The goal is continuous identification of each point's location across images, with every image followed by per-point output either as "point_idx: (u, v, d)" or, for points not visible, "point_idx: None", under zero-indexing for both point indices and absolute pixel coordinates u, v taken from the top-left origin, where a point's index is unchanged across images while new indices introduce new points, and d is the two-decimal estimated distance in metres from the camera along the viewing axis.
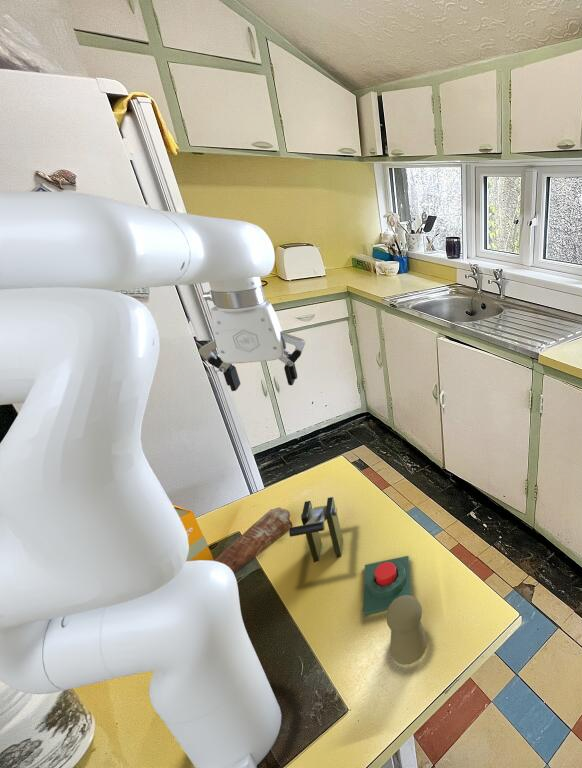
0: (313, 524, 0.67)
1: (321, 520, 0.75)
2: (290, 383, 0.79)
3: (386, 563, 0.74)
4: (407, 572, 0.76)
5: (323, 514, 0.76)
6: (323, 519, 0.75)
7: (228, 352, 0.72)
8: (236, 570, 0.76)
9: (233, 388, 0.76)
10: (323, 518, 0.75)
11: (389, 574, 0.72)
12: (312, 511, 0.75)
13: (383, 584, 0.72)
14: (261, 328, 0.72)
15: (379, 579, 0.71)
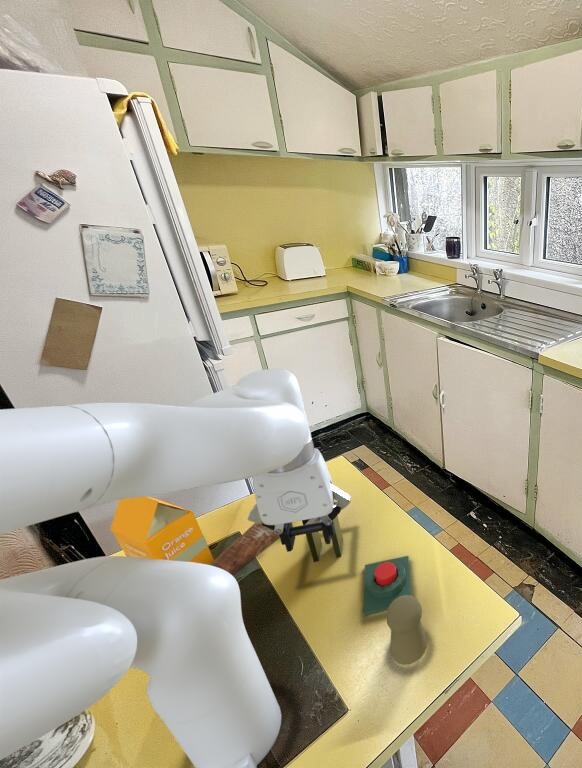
0: (313, 524, 0.67)
1: (321, 520, 0.75)
2: (328, 542, 0.67)
3: (386, 563, 0.74)
4: (407, 572, 0.76)
5: None
6: None
7: (271, 515, 0.61)
8: (236, 570, 0.76)
9: (289, 548, 0.66)
10: None
11: (389, 574, 0.72)
12: None
13: (383, 584, 0.72)
14: (310, 486, 0.61)
15: (379, 579, 0.71)
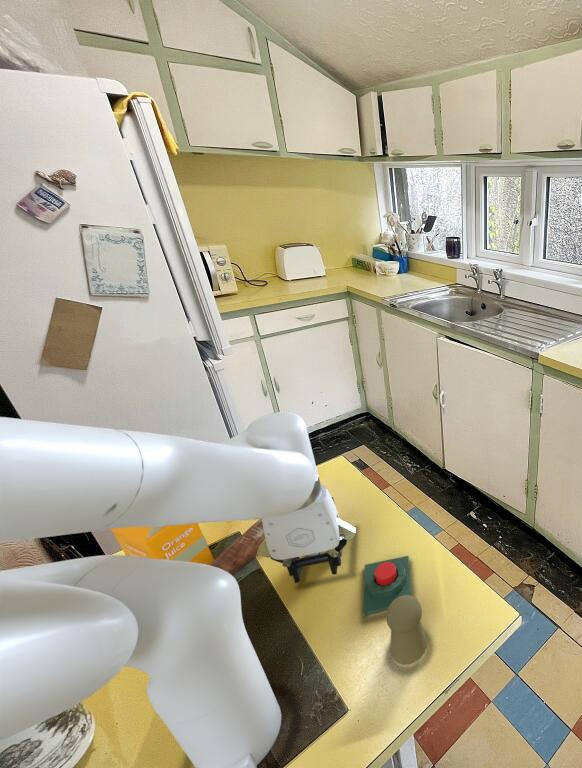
0: (319, 557, 0.68)
1: None
2: (334, 573, 0.69)
3: (386, 563, 0.74)
4: (407, 572, 0.76)
5: None
6: None
7: (279, 550, 0.63)
8: (236, 570, 0.76)
9: (297, 579, 0.68)
10: None
11: (389, 574, 0.72)
12: None
13: (383, 584, 0.72)
14: (317, 523, 0.63)
15: (379, 579, 0.71)
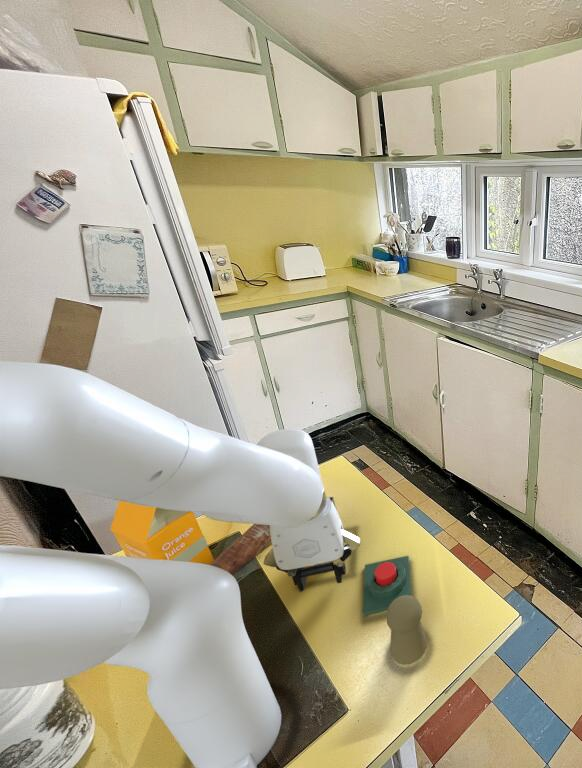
0: (323, 569, 0.70)
1: None
2: (339, 582, 0.72)
3: (386, 563, 0.74)
4: (407, 572, 0.76)
5: None
6: None
7: (286, 561, 0.65)
8: (236, 570, 0.76)
9: (301, 588, 0.70)
10: None
11: (389, 574, 0.72)
12: None
13: (383, 584, 0.72)
14: (323, 535, 0.65)
15: (379, 579, 0.71)
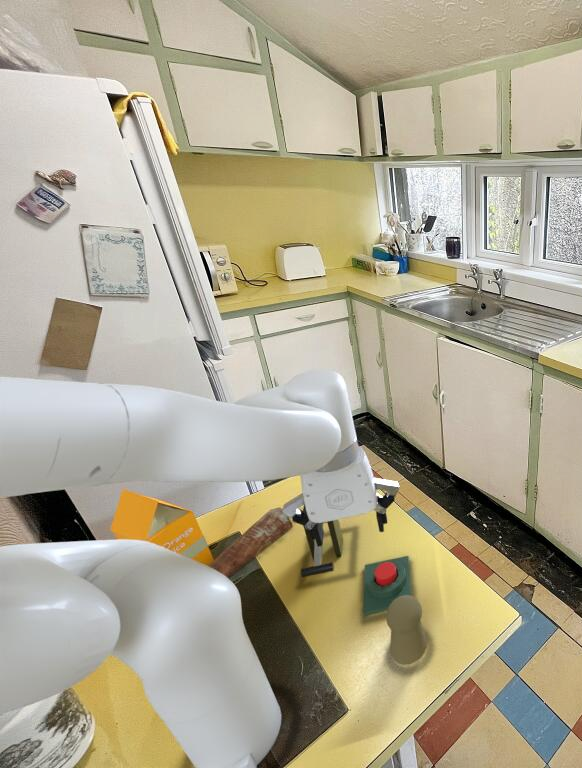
0: (323, 569, 0.70)
1: (323, 522, 0.77)
2: (382, 530, 0.69)
3: (386, 563, 0.74)
4: (407, 572, 0.76)
5: None
6: (325, 522, 0.77)
7: (318, 513, 0.62)
8: (236, 570, 0.76)
9: (319, 543, 0.66)
10: None
11: (389, 574, 0.72)
12: None
13: (383, 584, 0.72)
14: (357, 484, 0.62)
15: (379, 579, 0.71)
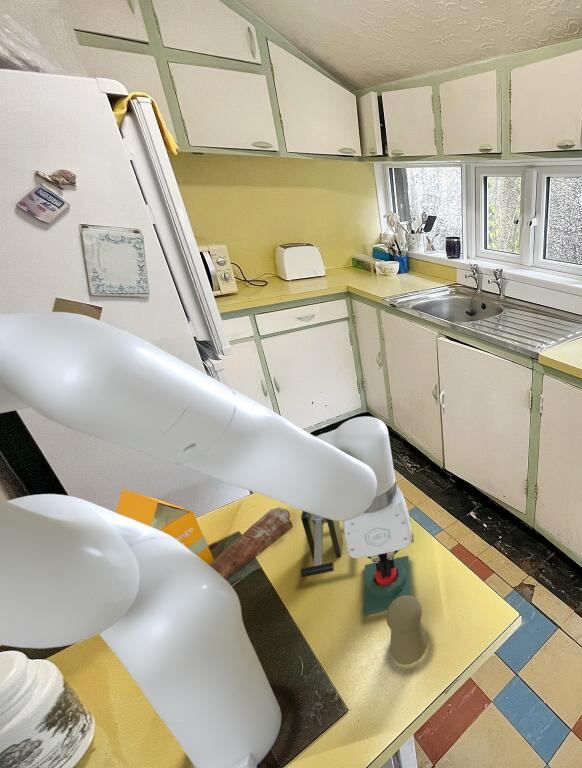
0: (323, 569, 0.70)
1: (323, 522, 0.77)
2: (389, 575, 0.71)
3: None
4: (407, 572, 0.76)
5: (324, 520, 0.76)
6: (325, 522, 0.77)
7: (358, 549, 0.65)
8: (236, 570, 0.76)
9: (384, 575, 0.71)
10: (325, 521, 0.76)
11: None
12: (313, 520, 0.75)
13: (383, 585, 0.72)
14: (394, 523, 0.65)
15: (379, 580, 0.71)
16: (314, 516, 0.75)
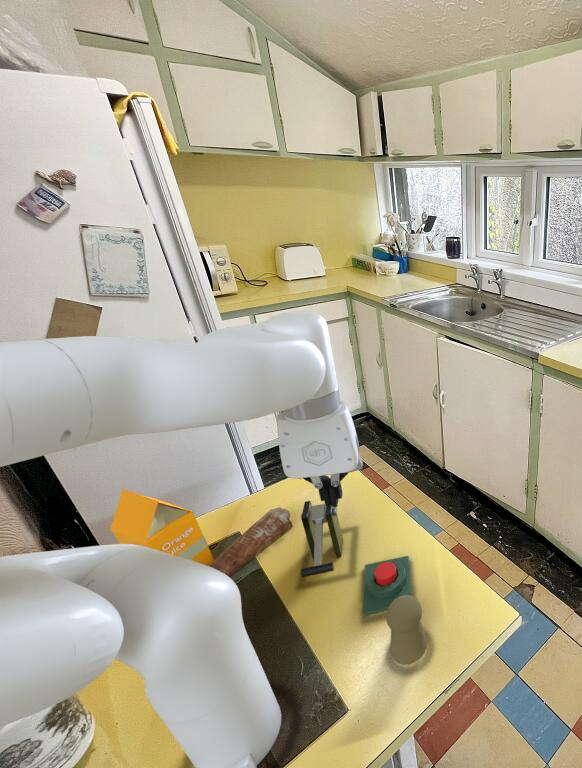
0: (323, 569, 0.70)
1: (323, 522, 0.77)
2: (334, 505, 0.64)
3: (386, 563, 0.74)
4: (407, 572, 0.76)
5: (324, 520, 0.76)
6: (325, 522, 0.77)
7: (294, 467, 0.58)
8: (236, 570, 0.76)
9: (328, 504, 0.64)
10: (325, 521, 0.76)
11: (389, 574, 0.72)
12: (313, 520, 0.75)
13: (383, 584, 0.72)
14: (336, 438, 0.58)
15: (379, 579, 0.71)
16: (314, 516, 0.75)
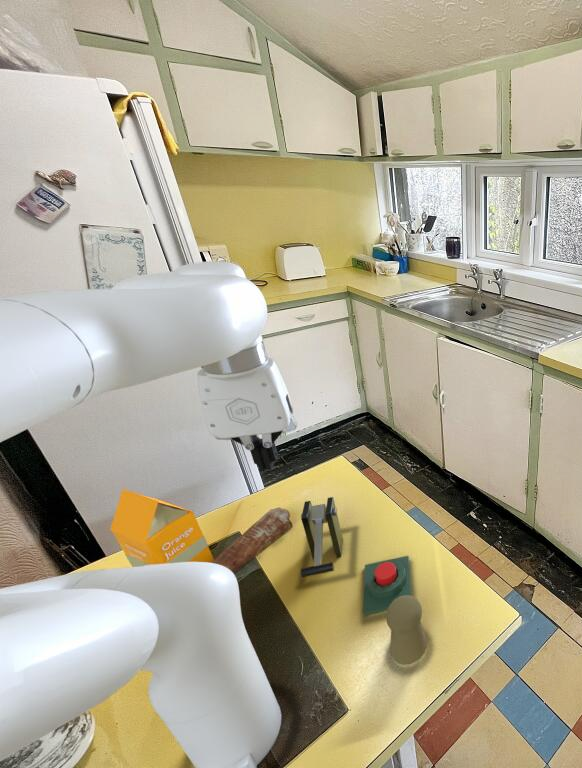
0: (323, 569, 0.70)
1: (323, 522, 0.77)
2: (268, 467, 0.63)
3: (386, 563, 0.74)
4: (407, 572, 0.76)
5: (324, 520, 0.76)
6: (325, 522, 0.77)
7: (220, 425, 0.57)
8: (236, 570, 0.76)
9: (262, 467, 0.62)
10: (325, 521, 0.76)
11: (389, 574, 0.72)
12: (313, 520, 0.75)
13: (383, 584, 0.72)
14: (262, 395, 0.56)
15: (379, 579, 0.71)
16: (314, 516, 0.75)
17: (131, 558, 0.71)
